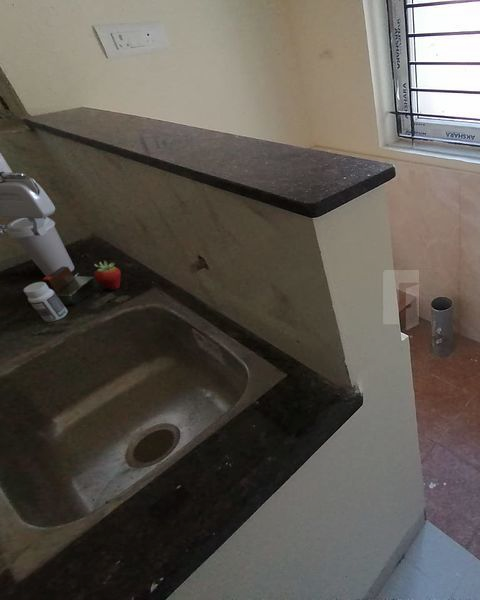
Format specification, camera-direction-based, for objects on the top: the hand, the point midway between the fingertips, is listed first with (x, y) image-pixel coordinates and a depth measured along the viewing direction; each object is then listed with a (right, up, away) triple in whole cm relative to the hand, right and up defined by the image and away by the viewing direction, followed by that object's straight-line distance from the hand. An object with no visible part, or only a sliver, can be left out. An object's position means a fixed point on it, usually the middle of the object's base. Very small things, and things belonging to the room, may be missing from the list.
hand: (21, 233), depth 86 cm
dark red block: (+2, -11, +9) cm, 14 cm away
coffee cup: (-9, -7, +20) cm, 23 cm away
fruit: (+12, -12, +12) cm, 21 cm away
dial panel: (+2, -13, +11) cm, 17 cm away
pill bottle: (+4, -19, +4) cm, 20 cm away
